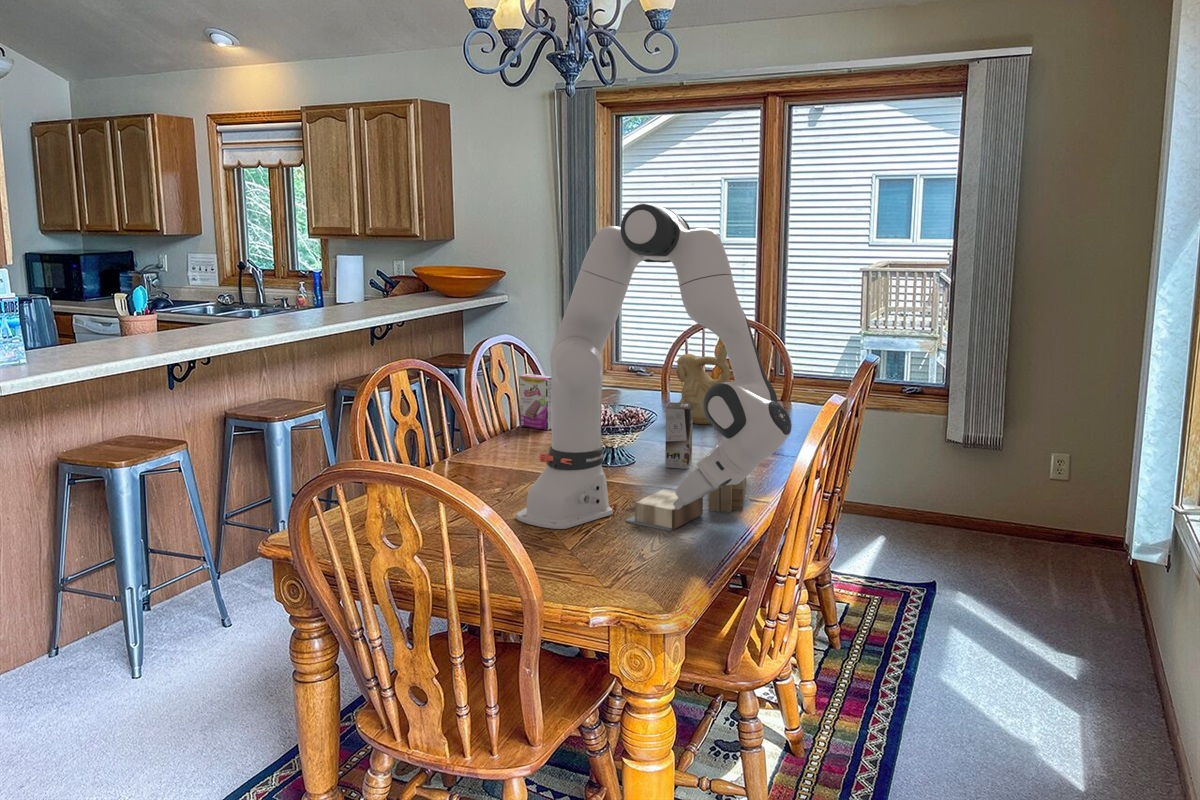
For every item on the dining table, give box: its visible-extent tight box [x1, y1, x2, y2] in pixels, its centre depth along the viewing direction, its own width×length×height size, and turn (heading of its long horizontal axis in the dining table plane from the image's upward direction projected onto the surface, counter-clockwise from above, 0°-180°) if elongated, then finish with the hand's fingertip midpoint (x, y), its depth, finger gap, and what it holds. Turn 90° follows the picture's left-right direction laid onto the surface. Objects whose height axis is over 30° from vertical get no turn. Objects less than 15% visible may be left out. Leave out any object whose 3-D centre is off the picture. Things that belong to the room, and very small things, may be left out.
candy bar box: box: [518, 373, 552, 431], centre depth 289 cm, size 11×5×16 cm, turn 58°
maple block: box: [634, 488, 704, 530], centre depth 201 cm, size 12×4×10 cm
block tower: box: [707, 477, 747, 513], centre depth 220 cm, size 8×8×29 cm
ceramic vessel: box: [675, 345, 731, 425], centre depth 297 cm, size 17×20×25 cm
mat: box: [625, 515, 674, 532], centre depth 202 cm, size 14×11×1 cm
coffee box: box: [664, 401, 693, 470], centre depth 245 cm, size 9×6×16 cm
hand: (687, 500), depth 198 cm, fingers open, 8 cm apart
